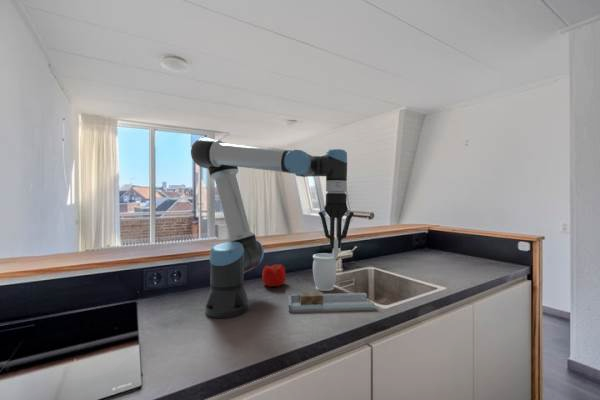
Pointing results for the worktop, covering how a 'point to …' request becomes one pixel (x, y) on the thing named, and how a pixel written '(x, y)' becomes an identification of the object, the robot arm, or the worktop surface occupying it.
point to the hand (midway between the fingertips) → (335, 257)
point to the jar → (324, 271)
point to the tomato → (274, 275)
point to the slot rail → (333, 303)
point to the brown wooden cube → (317, 297)
